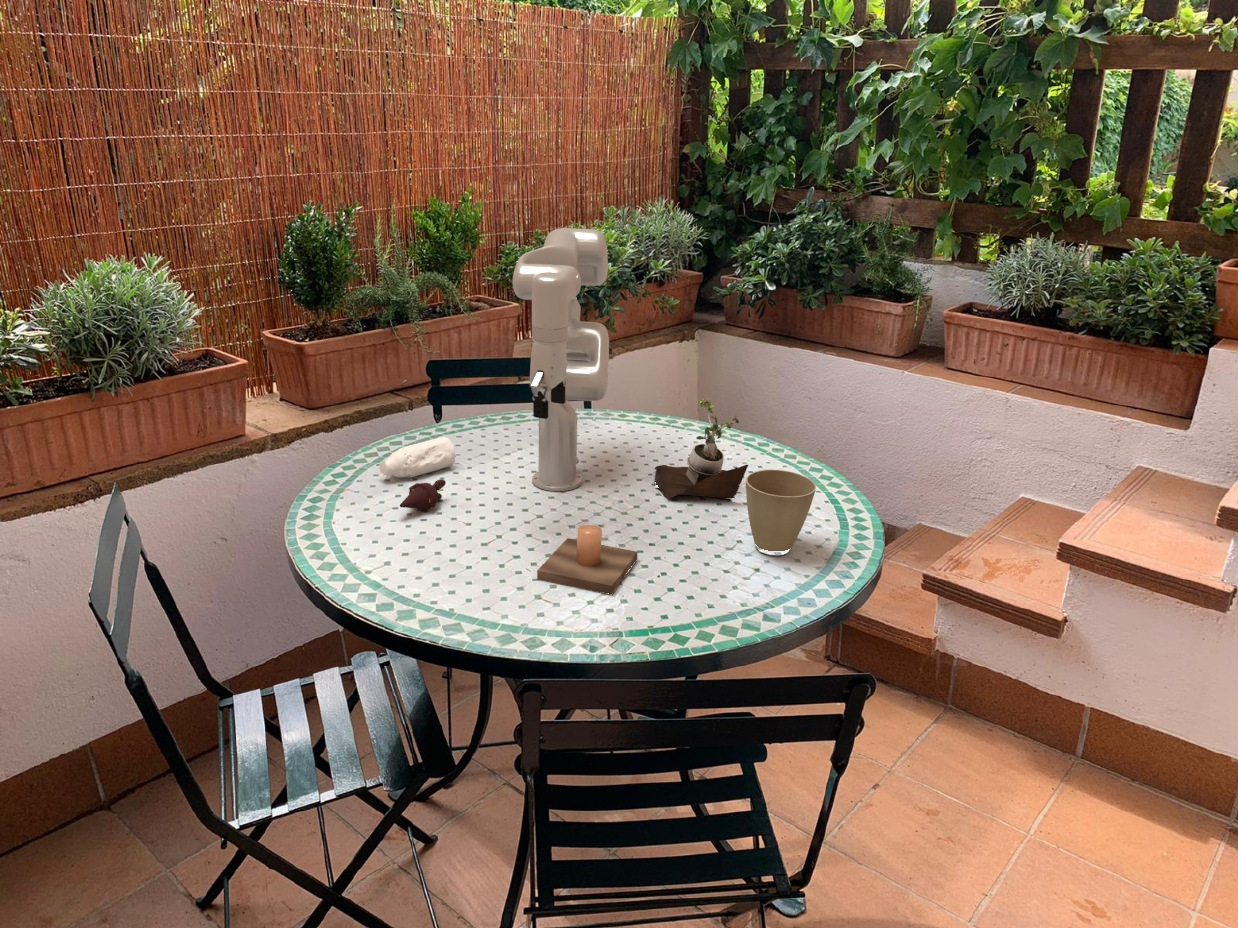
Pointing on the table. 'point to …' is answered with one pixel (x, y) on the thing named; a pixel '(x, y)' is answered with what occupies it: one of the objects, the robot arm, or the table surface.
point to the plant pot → (777, 507)
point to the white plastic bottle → (419, 458)
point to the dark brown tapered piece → (423, 496)
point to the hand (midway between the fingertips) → (549, 410)
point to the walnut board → (587, 568)
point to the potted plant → (702, 469)
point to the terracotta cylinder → (589, 545)
